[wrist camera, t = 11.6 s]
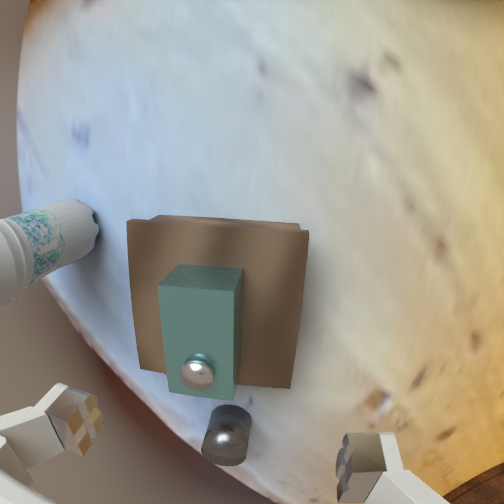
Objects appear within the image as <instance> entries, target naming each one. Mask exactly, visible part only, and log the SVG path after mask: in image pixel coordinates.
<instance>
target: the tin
mask: <svg viewBox="0 0 504 504" xmlns="http://www.w3.org/2000/svg"><path fill="white" fill-rule="evenodd" d="M250 427H251V416H250V414H249V413H248V412H247V411H246V410H244V409H243V408H241V407H238V406H235V405H221V406H218V407H216V408H215V409H214V410H213V412H212V414H211V417H210V421H209V424H208V428H207V431H206V434H205V438H204V441H203V444H202V448H201V452H202V454H203V456H204V457H205V458H206V459H207V460H209V461H210V462H212V463H215V464H218V465H222V466H235V465H239V464H241V463H242V462H244V460H245V458H246V453H247V447H248V440H249V434H250Z"/></svg>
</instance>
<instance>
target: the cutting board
mask: <svg viewBox="0 0 504 504" xmlns="http://www.w3.org/2000/svg"><path fill="white" fill-rule="evenodd" d="M443 498H444V499H445V500H446V501H448V502H449V503H450V504H504V463H502V464H499V465H497V466H495V467H493V468H491V469H489V470H487V471H485V472H483V473H481V474H480V475H478V476H476V477H474V478H472V479H471V480H469V481H467V482H465V483H464V484H462V485H460V486H459V487H457V488H456V489H454V490H452V491H451V492H449V493H448V494H446V495H445V496H443Z"/></svg>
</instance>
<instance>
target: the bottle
mask: <svg viewBox="0 0 504 504" xmlns="http://www.w3.org/2000/svg"><path fill="white" fill-rule="evenodd" d="M93 214H94V211H93V209H92V208H91V207H89V206H87V205H84V204H82V203H81V202H80V201H78V200H76V199H66V200H62V201H58V202H55V203H52V204H50V205H47V206H45V207H42V208H39V209H36V210H32V211H28V212H25V213H22V214H18V215H15V216H11V217H8V218H5V219H0V306H4V305H7V304H8V303H10V302H11V301H12V300H13V299H14V298H17V297H18V296H19V295H20V294H21V293H22V292H23V290H24V288H25V287H27V286H28V285H30V284H32V283H34V282H35V281H37V280H39V279H40V278H42V277H44V276H46V275H48V274H49V273H51V272H53V271H55V270H56V269H58V268H60V267H63V266H65V265H68V264H70V263H73V262H75V261H77V260H79V259H81V258H83V257H84V256H85V255H87V254H88V253H89V252H91V250H92V249H93V248H94V246H95V238H96V235H97V234H98V232H99V225H98V224H96V223H95V222H94V219H93V217H92V215H93Z"/></svg>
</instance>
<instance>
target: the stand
mask: <svg viewBox="0 0 504 504" xmlns="http://www.w3.org/2000/svg"><path fill="white" fill-rule="evenodd" d="M308 241H309V231H308V230H300V229H299V224H295V223H282V222H268V221H254V220H239V219H224V218H207V217H189V216H170V215H159V216H156V217H154V218H152V219H150V220H140V219H131V220H129V221H127V245H128V263H129V276H130V289H131V299H132V309H133V318H134V327H135V335H136V342H137V350H138V356H139V363H140V369H144V370H149V371H154V372H160V373H165V374H167V372H166V364H165V356H164V348H163V339H162V329H161V319H160V308H159V296H158V284H159V283H160V282H161V281H162V280H163V279H164V278H165V277H166V276H167V275H168V274H169V273H170V272H171V271H172V270H173V269H174V268H175V267H176V266H177V265H178V264H189V265H203V266H217V267H232V268H243V295H242V338H241V369H240V373H239V378H238V382H237V384H241V385H251V386H261V387H273V388H286V389H290V385H291V379H292V372H293V365H294V359H295V351H296V344H297V337H298V329H299V322H300V314H301V306H302V297H303V289H304V280H305V271H306V261H307V252H308Z"/></svg>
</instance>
